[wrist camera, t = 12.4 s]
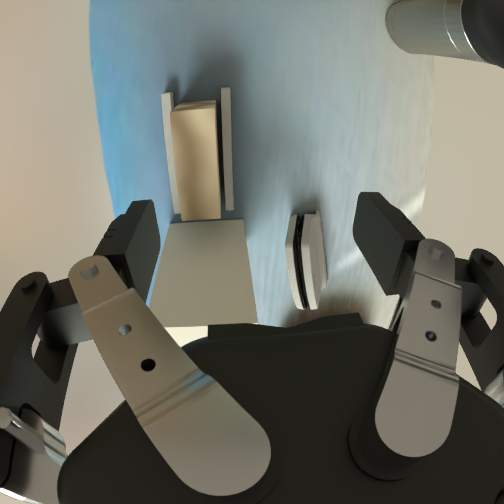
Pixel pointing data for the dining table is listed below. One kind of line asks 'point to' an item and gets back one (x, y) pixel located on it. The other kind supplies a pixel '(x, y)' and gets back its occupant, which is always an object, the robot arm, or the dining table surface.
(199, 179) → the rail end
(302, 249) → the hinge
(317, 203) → the dining table surface
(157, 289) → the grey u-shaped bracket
